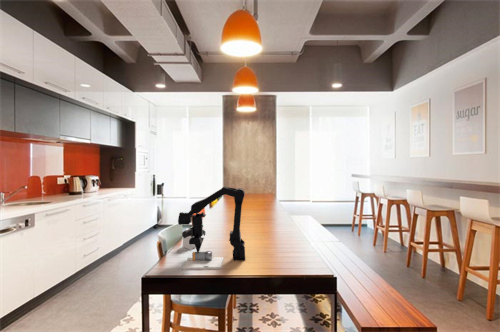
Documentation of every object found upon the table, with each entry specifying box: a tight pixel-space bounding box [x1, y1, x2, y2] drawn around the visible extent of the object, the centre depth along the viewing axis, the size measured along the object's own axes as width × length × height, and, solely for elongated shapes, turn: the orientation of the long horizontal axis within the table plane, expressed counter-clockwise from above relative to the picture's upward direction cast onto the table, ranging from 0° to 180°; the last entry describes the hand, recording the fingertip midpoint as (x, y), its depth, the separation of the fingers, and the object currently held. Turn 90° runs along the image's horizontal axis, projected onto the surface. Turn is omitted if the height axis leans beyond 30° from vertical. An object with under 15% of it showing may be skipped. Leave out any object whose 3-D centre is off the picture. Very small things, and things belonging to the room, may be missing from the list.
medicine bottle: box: [182, 227, 196, 250], centre depth 182 cm, size 7×7×12 cm
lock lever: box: [191, 250, 213, 261], centre depth 156 cm, size 10×4×4 cm, turn 91°
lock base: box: [182, 256, 224, 271], centre depth 153 cm, size 20×14×1 cm
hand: (198, 251), depth 161 cm, fingers closed
